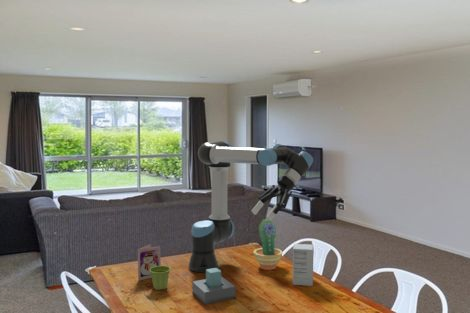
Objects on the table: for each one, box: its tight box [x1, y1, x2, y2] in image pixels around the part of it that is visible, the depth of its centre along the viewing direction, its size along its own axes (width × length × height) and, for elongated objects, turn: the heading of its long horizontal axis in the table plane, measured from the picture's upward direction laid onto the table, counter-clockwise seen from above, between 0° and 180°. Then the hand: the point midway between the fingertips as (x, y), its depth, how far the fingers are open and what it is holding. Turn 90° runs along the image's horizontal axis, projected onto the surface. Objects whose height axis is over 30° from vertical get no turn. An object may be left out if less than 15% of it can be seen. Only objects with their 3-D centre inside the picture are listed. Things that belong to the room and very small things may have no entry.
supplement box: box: [292, 243, 314, 287], centre depth 196 cm, size 10×9×17 cm
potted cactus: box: [252, 218, 284, 271], centre depth 217 cm, size 15×15×25 cm
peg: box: [205, 268, 222, 288], centre depth 181 cm, size 5×5×10 cm
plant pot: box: [150, 265, 171, 291], centre depth 191 cm, size 9×9×9 cm
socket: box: [192, 275, 236, 305], centre depth 182 cm, size 14×14×5 cm
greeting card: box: [137, 243, 162, 281], centre depth 205 cm, size 11×7×15 cm, turn 123°
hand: (260, 215), depth 188 cm, fingers open, 13 cm apart
